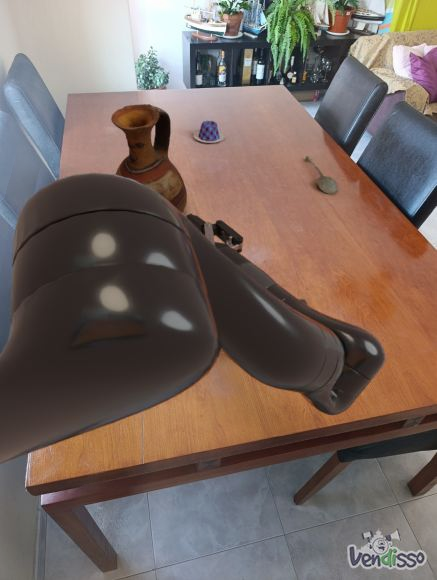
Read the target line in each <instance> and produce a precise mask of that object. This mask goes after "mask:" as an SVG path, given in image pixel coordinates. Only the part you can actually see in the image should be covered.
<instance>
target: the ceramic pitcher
mask: <svg viewBox="0 0 437 580" xmlns="http://www.w3.org/2000/svg"><path fill="white" fill-rule="evenodd" d="M110 120H111V122H112V124H113V125H114V126H115V127H117V128H118V129H120V131H122V132H123V133H124V135H125V139H126V142H127V147H128V155H127V156H126V157H125V158H124V159H123V160H122V161H121V163H120V164H119V166H118V167H117V170H116V172H115V173H114V174H115V175H118V176H122V177H126V178H129V179H133V180H135V181H138V182H140V183H142V184H144V185H146V186H148V187H150V188H152V189H153V190H155V191H156V192H158V193H159V194H160V195H162V196H163V197H164V198H165V199H167V200H168V201H169V202H170V203H171V204H172V205H174V206H175V207H176V208H177V209H178V210H179V211H180V212H181V213H182V214H183V213H184V211H185V209H186V207H187V202H188V192H187V189H186V185H185V182H184V179H183V177H182V175H181V173H180V171H179V170H178V168H177V167H176V166H175V164H174V163H173V162H171V160H170V158H169V150H170V149H169V148H170V142H171V134H172V128H171V127H172V126H171V125H172V123H171V117H170V115H169V113H168V112H166V111H165V110H164V109H163V108H160V107H158V106H154V105H151V103H148V104H147V103H146V104H145V103H143V104H129V105H125V106H123V107H121V108H119V109H116V110H115V112H113V113H112V115H111V118H110ZM153 129H154V139H153V143H152V131H153Z"/></svg>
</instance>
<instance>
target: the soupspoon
mask: <svg viewBox="0 0 437 580" xmlns="http://www.w3.org/2000/svg"><path fill="white" fill-rule="evenodd" d="M305 160H306V161H308V162H309V163H311V164H312V166H313V168H314V169H315V170H316V172H317V173H318V174H319V177H318V178H317V179H316V184H317V186H318V188H319V189H320V190H321V191H322V192H323V193H325V194H328V195H333V194H335V193H336V192H337V191H338V189H339V185H338V183H337V181H336V180H335V179H334V177H333V178H332V177H331V176H326V175H324V174H323V172H322V171H321V170H320V169H319V167H318V166H317V165H316V163H315V162H314V161H313V159H311V156H310V155H306V156H305Z"/></svg>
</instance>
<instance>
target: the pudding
mask: <svg viewBox="0 0 437 580" xmlns="http://www.w3.org/2000/svg"><path fill="white" fill-rule="evenodd" d="M193 138H194V139H195V140H196V141H199V142H201V143H209V144H212V143H218V142H221V141H223V140H224V139H225V138H226V136H225V133H224V132H223V131H222V130H219V126H218V123H217V122H216V121H214V120H204V121H202V122H201V124H200V128H199V129H198V130H196V131H194V132H193Z"/></svg>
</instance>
